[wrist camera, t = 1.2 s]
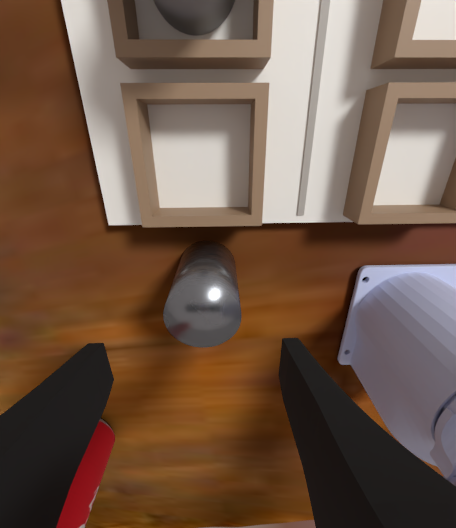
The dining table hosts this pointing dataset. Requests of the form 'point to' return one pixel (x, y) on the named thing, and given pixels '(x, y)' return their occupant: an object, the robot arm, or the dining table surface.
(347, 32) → the white board with compartments
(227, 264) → the steel pin
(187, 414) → the dining table surface
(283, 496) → the dining table surface
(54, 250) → the dining table surface
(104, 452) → the beverage can
